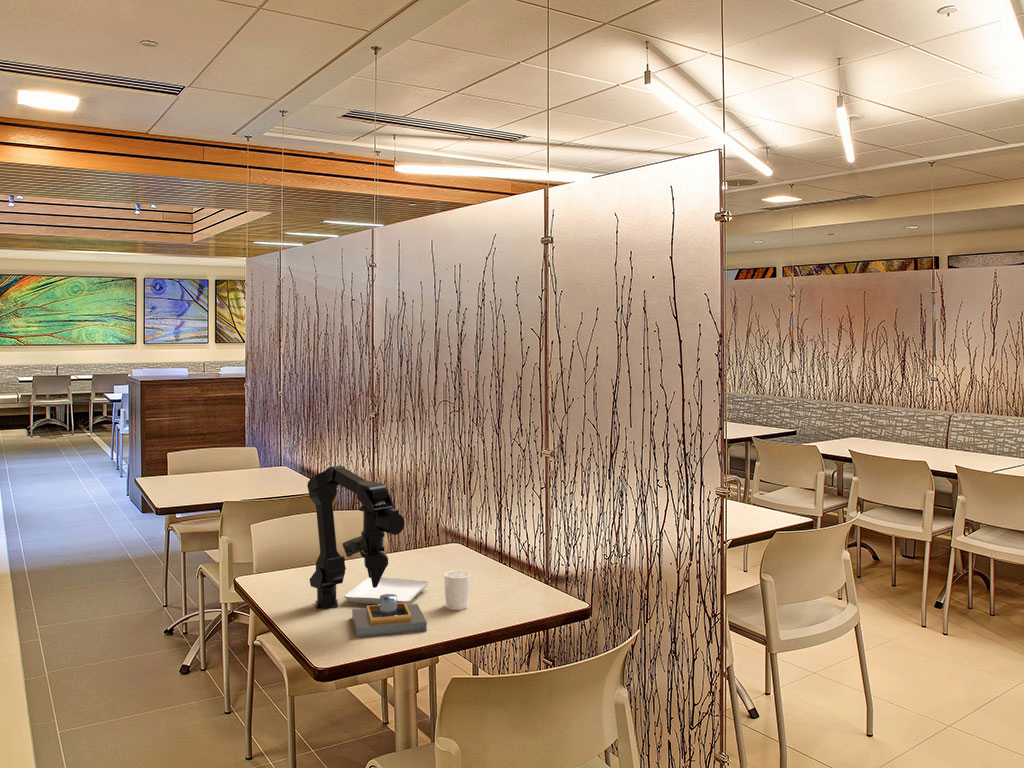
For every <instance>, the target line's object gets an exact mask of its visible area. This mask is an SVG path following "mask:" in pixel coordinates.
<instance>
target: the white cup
mask: <svg viewBox="0 0 1024 768" xmlns="http://www.w3.org/2000/svg"><path fill="white" fill-rule="evenodd" d="M443 575H444V576H443V577H444V578H443V579H444V596H445V607H446V609H448V610H453V611H462V610H466V609H468V607H469V598H470V589H471V588H470V587H471V585H470V584H471V583H470V582H471V573H470V572H469V571H465V570H450V571H447V572H444V574H443Z"/></svg>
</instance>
